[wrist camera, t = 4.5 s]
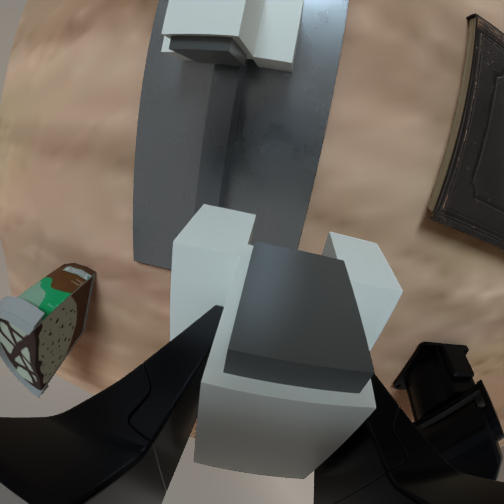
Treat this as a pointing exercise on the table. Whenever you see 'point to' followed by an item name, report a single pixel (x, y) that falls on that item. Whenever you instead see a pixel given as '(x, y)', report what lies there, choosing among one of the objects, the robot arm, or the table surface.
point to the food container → (45, 324)
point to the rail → (233, 136)
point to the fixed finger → (233, 31)
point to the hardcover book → (476, 143)
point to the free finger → (279, 341)
